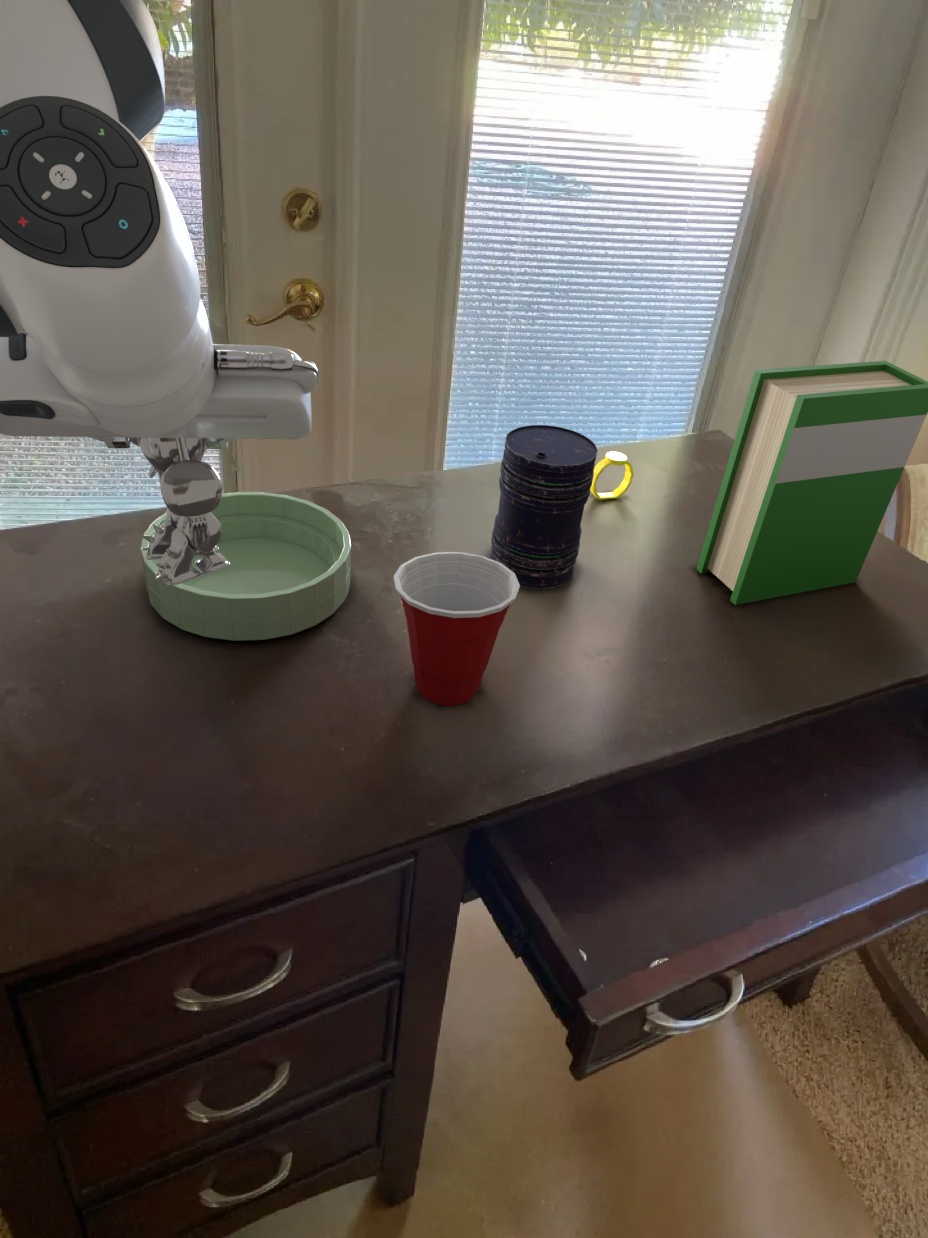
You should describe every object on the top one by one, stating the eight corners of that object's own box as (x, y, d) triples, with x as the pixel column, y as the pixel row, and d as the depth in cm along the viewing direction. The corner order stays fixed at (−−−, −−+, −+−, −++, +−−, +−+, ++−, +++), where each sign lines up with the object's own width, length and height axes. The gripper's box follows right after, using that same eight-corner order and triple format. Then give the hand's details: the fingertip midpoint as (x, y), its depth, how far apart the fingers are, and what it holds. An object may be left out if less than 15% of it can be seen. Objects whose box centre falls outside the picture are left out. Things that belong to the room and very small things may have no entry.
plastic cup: (479, 641, 88) (492, 537, 81) (522, 712, 80) (540, 604, 73) (373, 657, 85) (378, 550, 78) (407, 733, 77) (415, 622, 70)
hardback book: (735, 604, 98) (803, 398, 84) (696, 569, 103) (755, 369, 89) (855, 582, 104) (938, 386, 90) (813, 549, 110) (885, 360, 96)
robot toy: (121, 515, 73) (84, 331, 64) (197, 501, 75) (171, 322, 67) (166, 607, 62) (129, 402, 54) (252, 587, 65) (230, 388, 56)
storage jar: (508, 534, 106) (525, 416, 97) (586, 558, 103) (610, 439, 94) (474, 572, 98) (489, 449, 90) (556, 600, 96) (580, 475, 87)
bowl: (136, 649, 82) (128, 600, 79) (158, 535, 99) (153, 491, 95) (356, 642, 86) (357, 595, 83) (343, 534, 102) (344, 491, 99)
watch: (593, 505, 114) (601, 463, 110) (581, 495, 116) (589, 453, 112) (631, 499, 116) (641, 457, 113) (619, 489, 118) (628, 448, 115)
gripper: (317, 308, 53) (313, 400, 66) (-57, 294, 49) (19, 394, 62) (320, 409, 52) (316, 481, 65) (-61, 402, 48) (17, 480, 62)
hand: (168, 438), depth 64 cm, fingers closed on robot toy, 5 cm apart
